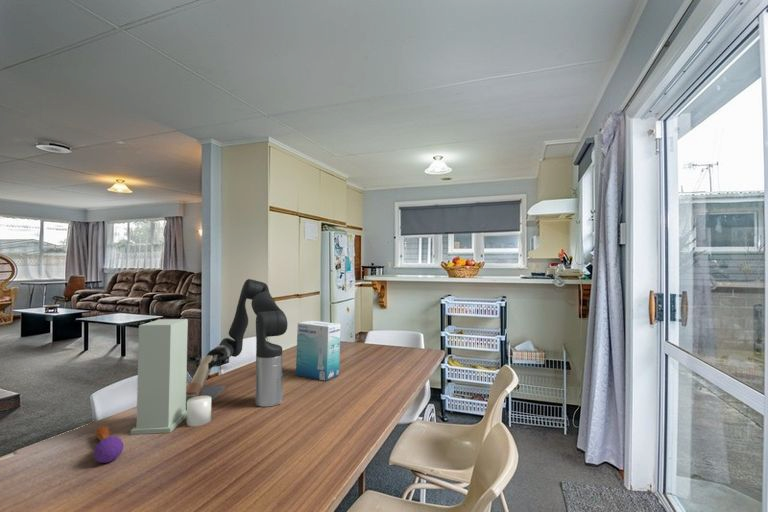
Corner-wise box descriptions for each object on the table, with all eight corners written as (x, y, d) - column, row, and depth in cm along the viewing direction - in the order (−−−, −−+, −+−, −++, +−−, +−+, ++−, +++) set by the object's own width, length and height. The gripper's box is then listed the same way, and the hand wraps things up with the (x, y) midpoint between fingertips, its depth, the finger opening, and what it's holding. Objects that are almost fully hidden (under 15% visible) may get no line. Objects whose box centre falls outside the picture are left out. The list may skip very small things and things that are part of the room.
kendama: (117, 419, 105) (127, 438, 91) (112, 441, 104) (121, 463, 89) (92, 422, 101) (98, 441, 87) (86, 444, 100) (92, 468, 86)
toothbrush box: (340, 375, 161) (340, 322, 162) (327, 381, 152) (327, 325, 153) (309, 370, 169) (310, 319, 170) (295, 376, 160) (295, 322, 161)
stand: (190, 413, 119) (192, 318, 120) (170, 432, 105) (172, 325, 106) (155, 414, 118) (157, 319, 119) (130, 434, 104) (133, 325, 105)
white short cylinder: (214, 416, 117) (214, 395, 117) (206, 425, 110) (206, 403, 110) (191, 417, 116) (192, 396, 116) (182, 427, 109) (183, 404, 109)
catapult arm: (215, 361, 144) (213, 353, 142) (197, 402, 126) (195, 394, 124) (204, 362, 143) (202, 354, 141) (184, 403, 126) (182, 394, 124)
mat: (224, 387, 144) (224, 385, 144) (204, 409, 123) (204, 406, 123) (199, 388, 143) (199, 386, 143) (173, 410, 121) (173, 408, 121)
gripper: (202, 347, 154) (184, 356, 137) (235, 346, 155) (222, 356, 138) (201, 364, 153) (184, 376, 136) (235, 363, 155) (222, 375, 138)
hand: (203, 366), depth 137 cm, fingers closed on catapult arm, 3 cm apart
